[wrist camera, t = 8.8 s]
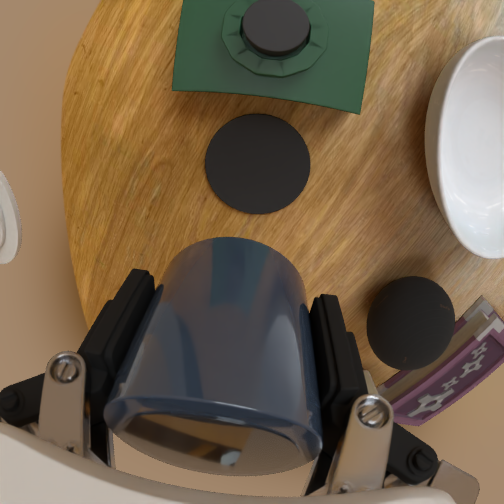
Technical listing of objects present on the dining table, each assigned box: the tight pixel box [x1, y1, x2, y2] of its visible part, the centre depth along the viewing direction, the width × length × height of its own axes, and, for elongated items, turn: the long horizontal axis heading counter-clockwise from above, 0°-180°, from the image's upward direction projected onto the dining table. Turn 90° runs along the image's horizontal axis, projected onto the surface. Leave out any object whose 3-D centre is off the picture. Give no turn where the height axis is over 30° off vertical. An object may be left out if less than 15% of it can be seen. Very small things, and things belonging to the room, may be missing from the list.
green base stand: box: [172, 0, 375, 115], centre depth 16 cm, size 14×10×5 cm
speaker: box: [367, 276, 455, 371], centre depth 26 cm, size 10×10×10 cm
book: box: [376, 295, 504, 426], centre depth 36 cm, size 25×16×5 cm, turn 149°
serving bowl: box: [425, 36, 504, 259], centre depth 17 cm, size 21×21×7 cm
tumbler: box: [103, 237, 324, 476], centre depth 8 cm, size 6×6×6 cm
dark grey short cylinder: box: [242, 0, 310, 56], centre depth 14 cm, size 4×4×2 cm
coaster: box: [205, 114, 310, 214], centre depth 24 cm, size 9×9×1 cm
